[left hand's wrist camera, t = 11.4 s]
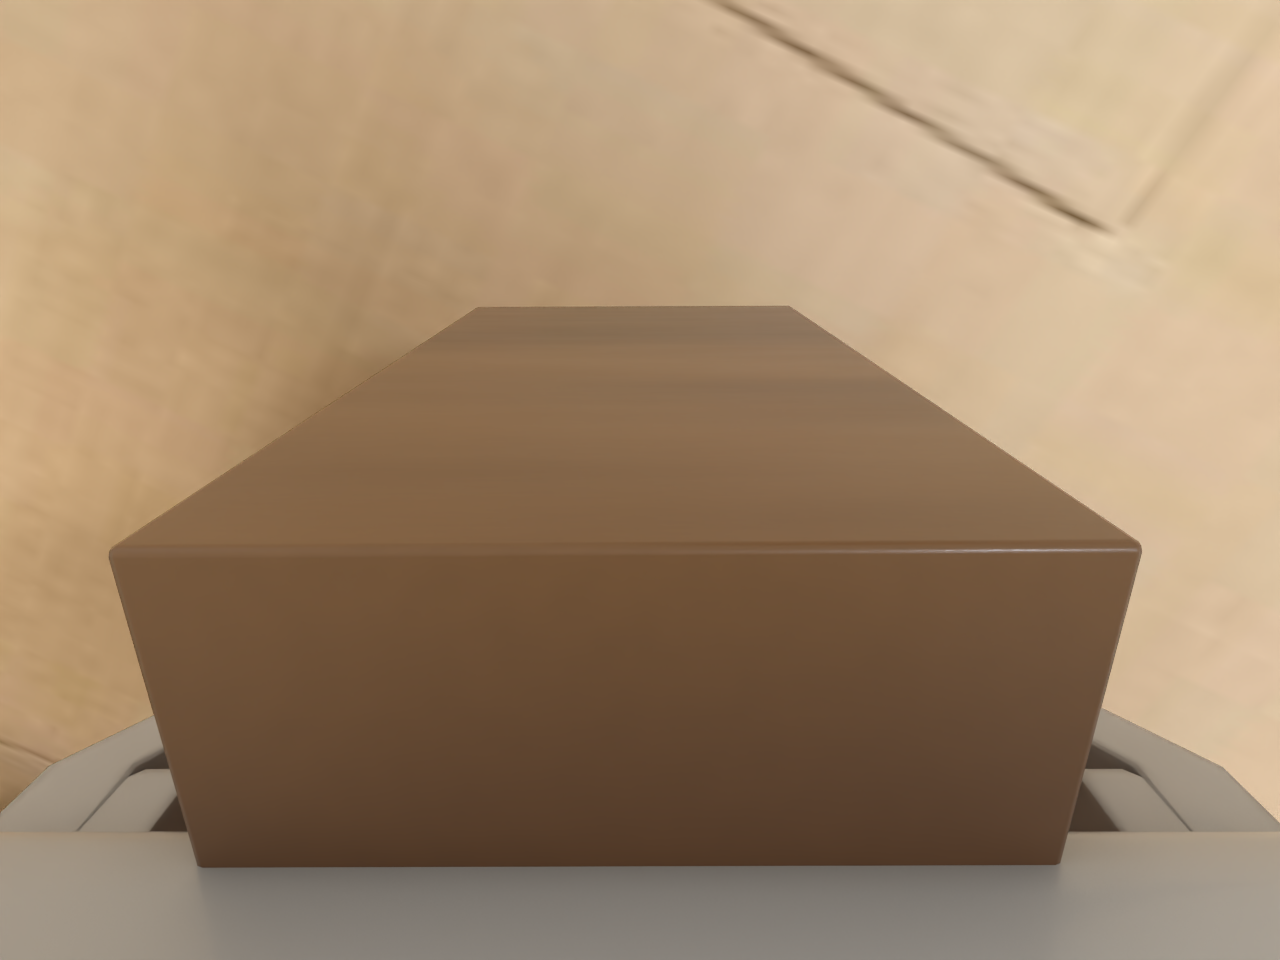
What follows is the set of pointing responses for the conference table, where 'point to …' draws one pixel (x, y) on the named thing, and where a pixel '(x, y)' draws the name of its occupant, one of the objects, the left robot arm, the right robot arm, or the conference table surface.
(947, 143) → the conference table surface
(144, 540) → the box
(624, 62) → the conference table surface
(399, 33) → the conference table surface
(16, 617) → the conference table surface
